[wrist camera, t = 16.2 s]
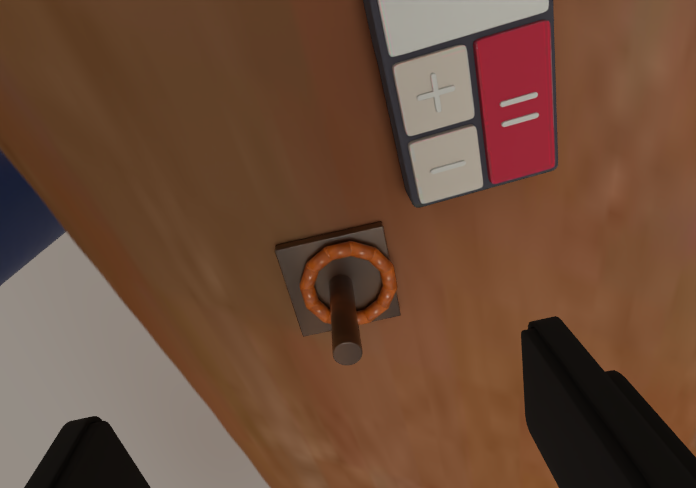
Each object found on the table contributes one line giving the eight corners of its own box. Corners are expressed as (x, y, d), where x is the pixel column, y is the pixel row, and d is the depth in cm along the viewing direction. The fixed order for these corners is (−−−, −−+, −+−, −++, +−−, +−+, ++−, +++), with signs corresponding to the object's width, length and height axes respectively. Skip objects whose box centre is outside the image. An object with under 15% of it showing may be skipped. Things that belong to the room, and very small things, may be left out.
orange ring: (314, 329, 40) (314, 337, 39) (290, 251, 36) (289, 258, 35) (401, 310, 40) (404, 318, 38) (386, 230, 36) (388, 236, 35)
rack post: (303, 330, 41) (300, 414, 32) (275, 245, 37) (262, 314, 28) (399, 309, 41) (422, 388, 32) (381, 221, 37) (402, 284, 28)
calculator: (416, 214, 33) (367, -15, 25) (404, 192, 36) (359, -13, 29) (564, 173, 32) (558, -74, 25) (537, 154, 36) (525, -64, 28)
